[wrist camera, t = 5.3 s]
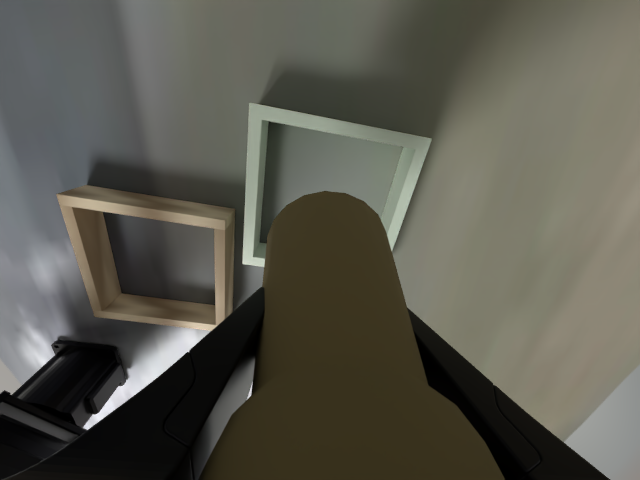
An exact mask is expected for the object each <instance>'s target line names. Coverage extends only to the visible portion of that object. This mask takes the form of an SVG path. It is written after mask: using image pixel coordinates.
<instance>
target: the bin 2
mask: <svg viewBox="0 0 640 480" xmlns="http://www.w3.org/2000/svg"><path fill="white" fill-rule="evenodd" d="M269 121H271V122H276V123H281V124H286V125H292V126H297V127H302V128H307V129H312V130H317V131H323V132H328V133H333V134H338V135H343V136H349V137H354V138H359V139H364V140H369V141H374V142H380V143H385V144H390V145H395V146H400V147H403V150H402V153H401V156H400V159H399V163H398V166H397V169H396V172H395V175H394V179H393V182H392V185H391V188H390V192H389V195H388V198H387V201H386V204H385V208H384V211H383V214H382V217H381V222H382V224H383V226H384V228H385V230H386V233H387V237H388V240H389V244H390V248H391V251H392V250H393V247H394V244H395V242H396V239H397V236H398V233H399V230H400V227H401V225H402V222H403V219H404V216H405V213H406V211H407V208H408V205H409V202H410V199H411V196H412V194H413V191H414V188H415V185H416V182H417V180H418V177H419V174H420V171H421V168H422V165H423V163H424V160H425V157H426V154H427V151H428V149H429V146H430V143H431V140H432V139H431V138H426V137H421V136H417V135H412V134H407V133H402V132H396V131H391V130H386V129H381V128H376V127H371V126H366V125H361V124H356V123H351V122H346V121H341V120H336V119H331V118H326V117H321V116H316V115H311V114H306V113H301V112H296V111H291V110H285V109H280V108H275V107H270V106H265V105H260V104H255V103H249V120H248V144H247V167H246V191H245V215H244V239H243V263H242V264H246V265H254V266H261V267H264V265H265V255H266V245H267V244H266V243H260V230H261V217H262V203H263V190H264V177H265V164H266V150H267V137H268V124H269Z"/></svg>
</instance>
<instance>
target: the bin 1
mask: <svg viewBox="0 0 640 480" xmlns="http://www.w3.org/2000/svg"><path fill="white" fill-rule="evenodd" d="M56 195H57V198H58V201H59V204H60V208H61V211H62V214H63V217H64V220H65V224H66V227H67V230H68V233H69V236H70V240H71V243H72V246H73V249H74V253H75V256H76V259H77V262H78V265H79V269H80V272H81V275H82V278H83V281H84V285H85V288H86V291H87V294H88V297H89V301H90V304H91V307H92V310H93V313H94V317H100V318H108V319H117V320H125V321H134V322H142V323H151V324H159V325H167V326H176V327H184V328H193V329H201V330H210V331H212V330H213V329H214V328H215V327H216V326H218V325H219V324H220V323H221V322H222V321H223V320H224V319H225V318H227V317H228V316H229V315H230V314H231V313H232V312H233V277H234V235H235V209H232V208H226V207H220V206H213V205H207V204H201V203H195V202H189V201H182V200H176V199H170V198H164V197H157V196H151V195H145V194H139V193H133V192H126V191H120V190H114V189H108V188H102V187H95V186H89V185H85V186H81V187H78V188H75V189H71V190H68V191H65V192H62V193H58V194H56ZM103 212H109V213H116V214H122V215H129V216H135V217H142V218H148V219H155V220H162V221H168V222H175V223H181V224H188V225H194V226H201V227H207V228H214V250H215V305H209V304H201V303H193V302H185V301H178V300H170V299H162V298H154V297H146V296H138V295H130V294H123V293H122V292H121V288H120V284H119V280H118V275H117V271H116V267H115V262H114V258H113V254H112V249H111V245H110V241H109V237H108V232H107V228H106V224H105V219H104V215H103Z"/></svg>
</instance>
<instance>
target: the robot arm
mask: <svg viewBox="0 0 640 480" xmlns="http://www.w3.org/2000/svg"><path fill="white" fill-rule="evenodd" d="M407 310H408V313H409V317H410V320H411V324H412V328H413V331H414V335H415V339H416V342H417V346H418V350H419V353H420V357H421V360H422V364H423V368H424V371H425V375H426V379H427V382H428V386H430V387H431V388H433V389H434V390H436V391H437V392H438V393H440V394H441V395H443V396H444V397H445V398H447V399H448V400H450V401H451V402H453V403H454V404H455V405H457V407H458V408H459V409H460V410H461V412H462V413H463V414H464V416H465V417H466V418H467V420H468V421H469V422H470V423H471V425H472V426H473V427H474V429H475V430H476V431H477V432H478V434H479V435H480V436H481V438H482V439H483V440H484V441H485V443H486V445H487V446H488V448H489V450H490V452H491V454H492V456H493V458H494V460H495V461H496V463H497V465H498V467H499V469H500V471H501V473H502V475H503V476H504V478H505V480H610V479H609V478H607V477H606V476H605V475H604V474H602V473H601V472H600V471H599V470H597V469H596V468H595V467H593V466H592V465H591V464H590V463H589V462H587V461H586V460H585V459H584V458H582V457H581V456H580V455H579V454H577V453H576V452H575V451H574V450H572V449H571V448H570V447H569V446H567V445H566V444H565V443H564V442H562V441H561V440H560V439H559V438H557V437H556V436H555V435H554V434H552V433H551V432H550V431H549V430H547V429H546V428H545V427H544V426H542V425H541V424H540V423H539V422H538V421H536V420H535V419H534V418H533V417H531V416H530V415H529V414H528V413H527V412H525V411H524V410H523V409H522V408H521V407H520V406H518V405H517V404H516V403H515V402H514V401H513V400H511V399H510V398H509V397H508V396H507V395H506V394H505V393H503V392H502V391H501V390H500V389H499V388H498V387H497V386H495V385H493V383H492V382H491V381H490V380H489V379H488V378H486V377H485V376H484V375H483V374H482V373H481V372H480V371H479V370H477V369H476V368H475V367H474V366H473V365H472V364H471V363H469V362H468V361H467V360H466V359H465V358H464V357H463V356H462V355H460V354H459V353H458V352H457V351H456V350H455V349H454V348H452V347H451V346H450V345H449V344H448V343H447V342H446V341H445V340H443V339H442V338H441V337H440V336H439V335H438V334H437V333H436V332H434V331H433V330H432V329H431V328H430V327H429V326H428V325H426V324H425V323H424V322H423V321H422V320H421V319H420V318H419V317H417V316H416V315H415V314H414V313H413V312H412V311H411V310H410V309H408V308H407ZM264 313H265V293H264V287H260V288H259V289H258V290H257V291H256V292H255V293H254V294H252V295H251V296H250V297H249V298H248V299H247V300H246V301H245V302H243V303H242V304H241V305H240V306H239V307H238V308H237V309H236V310H234V311H233V312H232V313H231V314H230V315H229V316H228V317H227V318H225V319H224V320H223V321H222V322H221V323H220V324H219V325H218V326H216V327H215V328H214V329H213V330H212V331H211V332H210V333H209V334H207V335H206V336H205V337H204V338H203V339H202V340H201V341H200V342H198V343H197V344H196V345H195V346H194V347H193V348H192V349H191V350H190V351H189V352H187V353H186V354H185V355H184V356H182V357H181V358H180V359H179V360H178V361H177V362H176V363H174V364H173V365H172V366H171V367H170V368H169V369H167V370H166V371H165V372H164V373H163V374H161V375H160V376H159V377H158V378H156V379H155V380H154V381H153V382H151V383H150V384H149V385H147V386H146V387H145V388H144V389H142V390H141V391H140V392H138V393H137V394H136V395H134V396H133V397H132V398H130V399H129V400H128V401H126V402H125V403H124V404H122V405H121V406H120V407H118V408H117V409H116V410H114V411H113V412H111V413H110V414H109V415H107V416H106V417H105V418H103V419H102V420H101V421H99V422H98V423H97V424H95V425H94V426H93V427H91V428H90V429H89V430H86V429H84V428H83V426H84V425H85V424H86V422H87V421H88V420H89V418H90V417H91V416H92V414H97V413H98V412H100V410H101V409H102V407H103V406H104V405H105V403H106V402H107V401H108V399H109V398H110V397H111V395H112V394H113V392H114V391H115V390H116V388H117V387H118V386H123V385H124V384H125V382H126V379H125V375H124V372H123V368H122V365H121V361H120V357H119V354H118V350H117V349H116V348H115V347H112V346H104V345H94V344H85V343H76V342H67V341H55V342H54V343H53V344H52V345H51V346H52V348H53V351H54V353H55V356H54V357H53V358H51V359H50V360H49V361H48V362H47V363H46V364H45V365H44V366H43V367H42V368H41V369H39V370H38V371H37V372H36V373H35V374H34V375H33V376H32V377H31V378H30V379H29V380H27V381H26V382H25V383H24V384H23V385H22V386H21V387H20V388H19V389H18V390H17V391H16V392H14V393H13V394H12V395H10V393H9V392H7V391H5V390H4V391H3V392H2V393H0V480H198V479H199V476H200V474H201V472H202V470H203V468H204V466H205V464H206V462H207V460H208V458H209V456H210V454H211V453H212V451H213V449H214V447H215V445H216V443H217V441H218V439H219V438H220V436H221V434H222V432H223V430H224V428H225V426H226V424H227V423H228V421H229V419H230V417H231V415H232V414H233V413H234V412H235V411H236V410H237V409H238V408H239V407H240V406H241V405H242V404H243V403H244V402H245V401H246V399H247V396H248V393H249V390H250V387H251V384H252V381H253V375H254V365H255V355H256V345H257V340H258V337H259V333H260V329H261V326H262V322H263V318H264Z"/></svg>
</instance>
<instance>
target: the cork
mask: <svg viewBox="0 0 640 480" xmlns="http://www.w3.org/2000/svg"><path fill="white" fill-rule="evenodd" d="M262 287H264V293H265V313H264V318H263V322H262V326H261V329H260V333H259V337H258V340H257V345H256V355H255V365H254V375H253V385H252V395H251V397H250V398H249V399H248V400H246V401H245V402H244V403H243V404H242V405H241V406H240V407H239V408H238V409H237V410H236V411H235V412H234V413H233V414H232V415H231V417H230V419H229V421H228V423H227V424H226V426H225V428H224V430H223V432H222V434H221V436H220V438H219V439H218V441H217V443H216V445H215V447H214V449H213V451H212V453H211V454H210V456H209V458H208V460H207V462H206V464H205V466H204V468H203V470H202V472H201V474H200V476H199V479H198V480H505V478H504V476H503V475H502V473H501V471H500V469H499V467H498V465H497V463H496V461H495V460H494V458H493V456H492V454H491V452H490V450H489V448H488V446H487V445H486V443H485V441H484V440H483V439H482V438H481V436H480V435H479V434H478V432H477V431H476V430H475V429H474V427H473V426H472V425H471V423H470V422H469V421H468V420H467V418H466V417H465V416H464V414H463V413H462V412H461V410H460V409H459V408H458V407H457V405H455V404H454V403H453V402H451V401H450V400H448V399H447V398H445V397H444V396H443V395H441V394H440V393H438V392H437V391H436V390H434V389H433V388H431V387H430V386H428V382H427V379H426V375H425V371H424V368H423V364H422V360H421V357H420V353H419V350H418V346H417V342H416V339H415V335H414V331H413V328H412V324H411V320H410V317H409V313H408V310H407V306H406V302H405V299H404V295H403V291H402V288H401V284H400V280H399V277H398V273H397V269H396V266H395V262H394V259H393V255H392V251H391V248H390V244H389V240H388V237H387V233H386V230H385V228H384V226H383V224H382V222H381V220H380V218H379V216H378V214H377V213H376V212H375V211H374V210H373V209H372V208H370V207H369V206H368V205H367V204H366V203H365V202H364V201H362V200H360V199H357V198H355V197H353V196H351V195H349V194H346V193H338V192H329V191H323V192H318V193H313V194H308V195H304V196H302V197H300V198H299V199H297V200H295V201H293V202H292V203H290V204H288V205H286V207H285V208H284V209H283V210H282V211H281V212H280V213H279V214H278V216H277V217H276V218H275V219H274V221H273V223H272V226H271V228H270V231H269V233H268V236H267V245H266V255H265V265H264V275H263V285H262Z"/></svg>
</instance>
